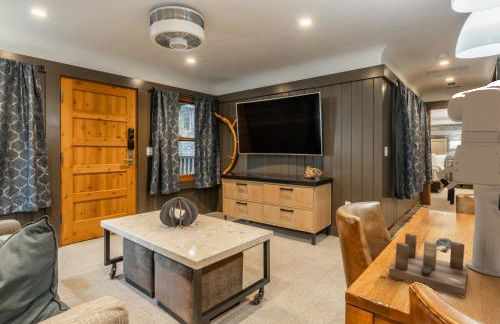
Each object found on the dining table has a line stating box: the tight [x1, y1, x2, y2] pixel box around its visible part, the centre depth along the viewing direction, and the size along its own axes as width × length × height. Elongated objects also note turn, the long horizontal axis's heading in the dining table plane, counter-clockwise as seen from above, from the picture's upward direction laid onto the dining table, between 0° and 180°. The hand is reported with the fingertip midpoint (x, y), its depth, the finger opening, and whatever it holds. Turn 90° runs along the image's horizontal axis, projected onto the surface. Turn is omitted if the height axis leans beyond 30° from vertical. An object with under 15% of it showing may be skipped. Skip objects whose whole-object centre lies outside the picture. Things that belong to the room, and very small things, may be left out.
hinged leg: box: [422, 240, 438, 275], centre depth 92 cm, size 10×4×8 cm, turn 140°
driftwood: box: [434, 237, 453, 252], centre depth 126 cm, size 21×7×2 cm, turn 133°
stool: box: [388, 232, 469, 297], centre depth 95 cm, size 20×20×10 cm
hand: (475, 206), depth 72 cm, fingers open, 9 cm apart
